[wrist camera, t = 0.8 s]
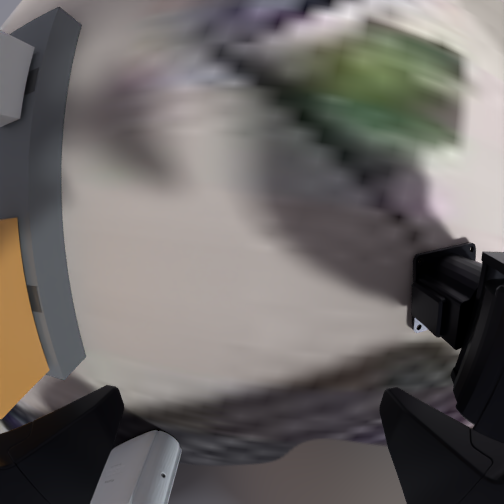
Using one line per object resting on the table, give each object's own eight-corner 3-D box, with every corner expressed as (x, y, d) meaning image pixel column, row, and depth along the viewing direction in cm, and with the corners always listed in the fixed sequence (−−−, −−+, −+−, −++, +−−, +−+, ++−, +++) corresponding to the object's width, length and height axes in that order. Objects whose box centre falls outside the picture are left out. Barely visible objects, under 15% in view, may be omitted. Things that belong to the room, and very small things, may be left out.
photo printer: (157, 422, 23) (118, 524, 11) (189, 446, 24) (165, 546, 11) (107, 446, 24) (69, 521, 12) (134, 466, 25) (105, 542, 13)
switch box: (81, 24, 15) (58, 6, 11) (86, 356, 22) (64, 380, 18) (11, 58, 15) (-13, 49, 12) (18, 339, 22) (-4, 356, 18)
